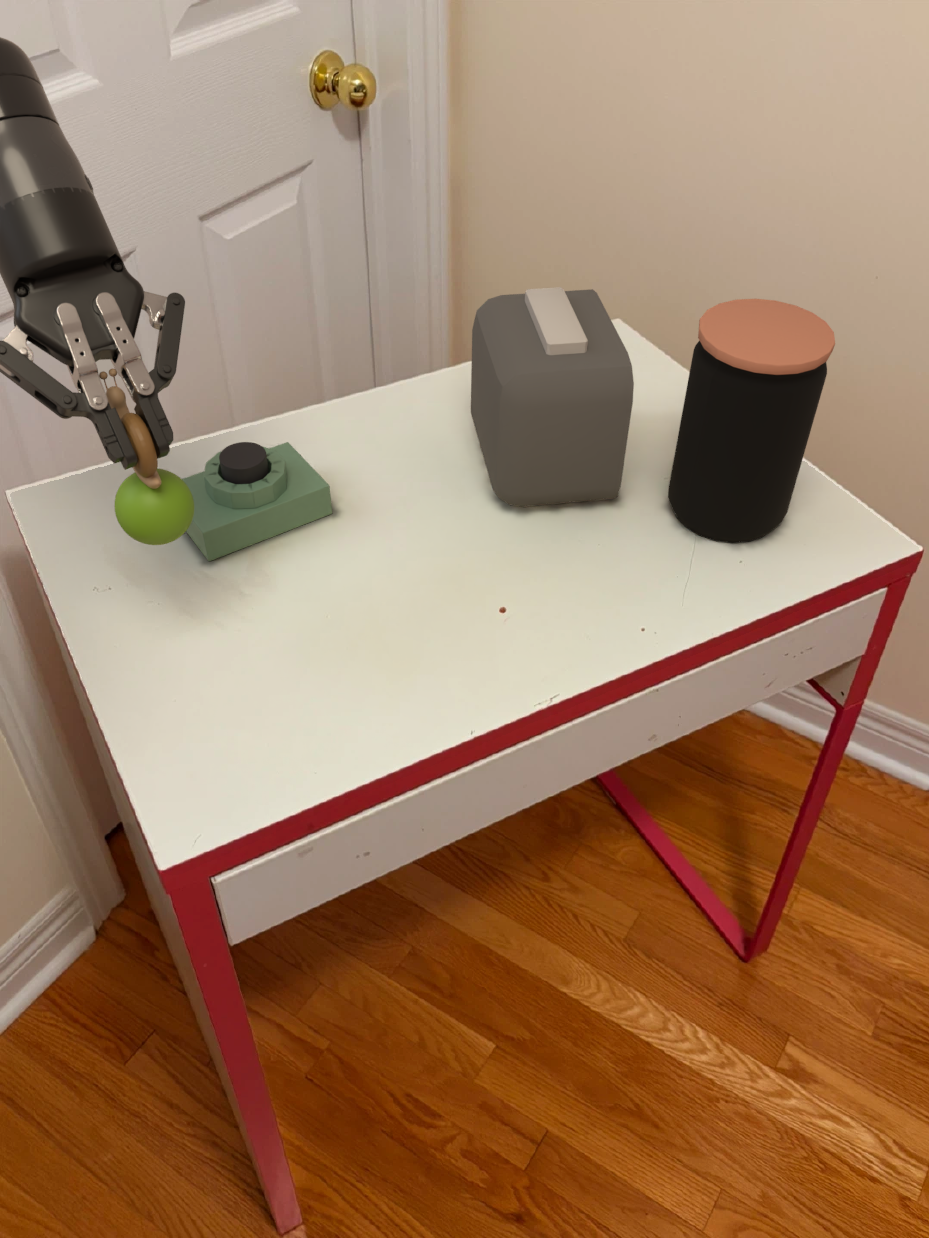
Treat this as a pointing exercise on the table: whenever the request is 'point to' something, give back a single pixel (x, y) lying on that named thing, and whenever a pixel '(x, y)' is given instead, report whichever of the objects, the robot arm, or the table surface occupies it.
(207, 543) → the green push button box
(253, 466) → the black button
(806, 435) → the coffee jar
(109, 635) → the table surface
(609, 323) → the alarm clock
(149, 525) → the snail figurine
